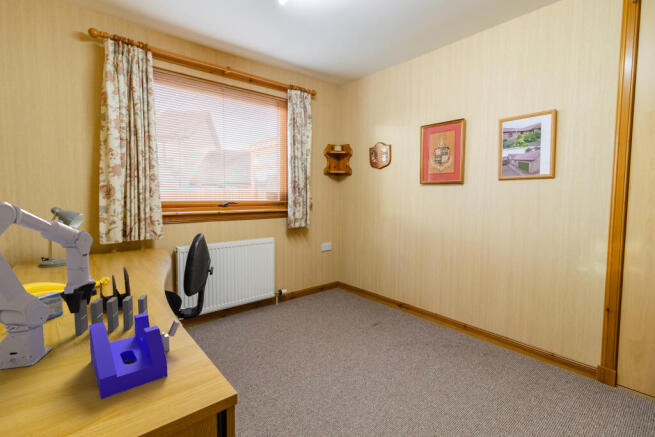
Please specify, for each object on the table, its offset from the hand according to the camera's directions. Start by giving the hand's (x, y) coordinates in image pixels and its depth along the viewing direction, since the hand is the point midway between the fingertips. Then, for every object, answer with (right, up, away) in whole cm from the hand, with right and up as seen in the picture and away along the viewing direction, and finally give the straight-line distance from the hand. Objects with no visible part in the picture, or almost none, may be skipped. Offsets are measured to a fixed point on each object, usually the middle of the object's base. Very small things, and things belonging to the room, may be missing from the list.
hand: (80, 308), depth 102 cm
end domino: (+17, -8, +6) cm, 20 cm away
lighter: (+34, -9, -11) cm, 37 cm away
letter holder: (-7, -6, +27) cm, 28 cm away
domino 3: (+9, -8, +3) cm, 12 cm away
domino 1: (0, -8, +1) cm, 8 cm away
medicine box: (-21, -7, +12) cm, 25 cm away
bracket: (+29, -10, -21) cm, 37 cm away
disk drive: (-32, -5, +40) cm, 51 cm away
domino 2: (+4, -8, +2) cm, 9 cm away
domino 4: (+13, -8, +5) cm, 16 cm away
